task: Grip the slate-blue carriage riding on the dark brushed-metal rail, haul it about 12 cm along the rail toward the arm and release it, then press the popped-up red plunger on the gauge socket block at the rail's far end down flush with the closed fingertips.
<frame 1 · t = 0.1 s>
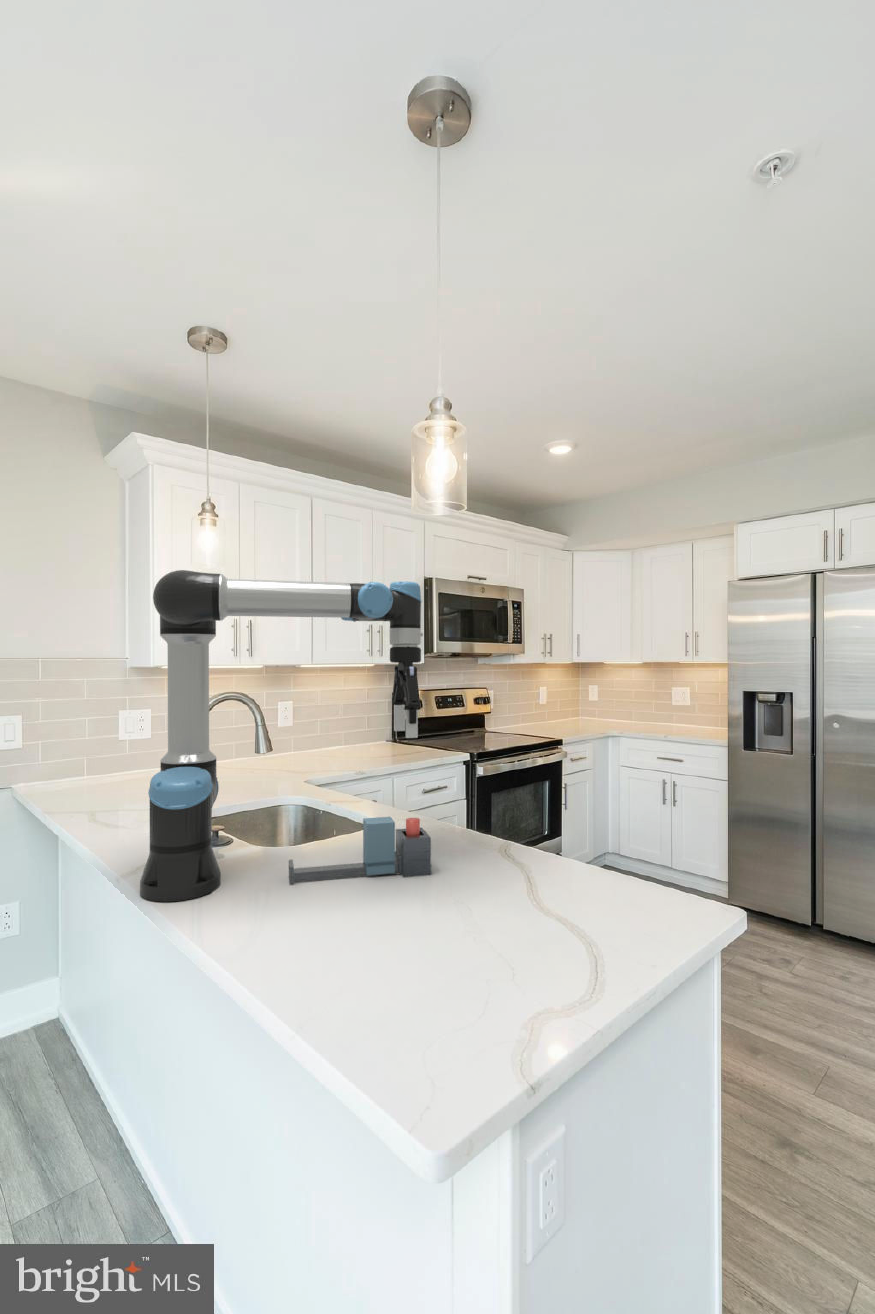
hand: (405, 734, 155), 28 cm above the counter, fingers open, 13 cm apart
rail: (346, 875, 136), on the counter
gauge socket block: (412, 869, 140), on the counter
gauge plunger: (412, 833, 140), point 8 cm above the counter, slide at 0.0 cm
carriage: (378, 845, 138), point 6 cm above the counter, slide at 0.0 cm
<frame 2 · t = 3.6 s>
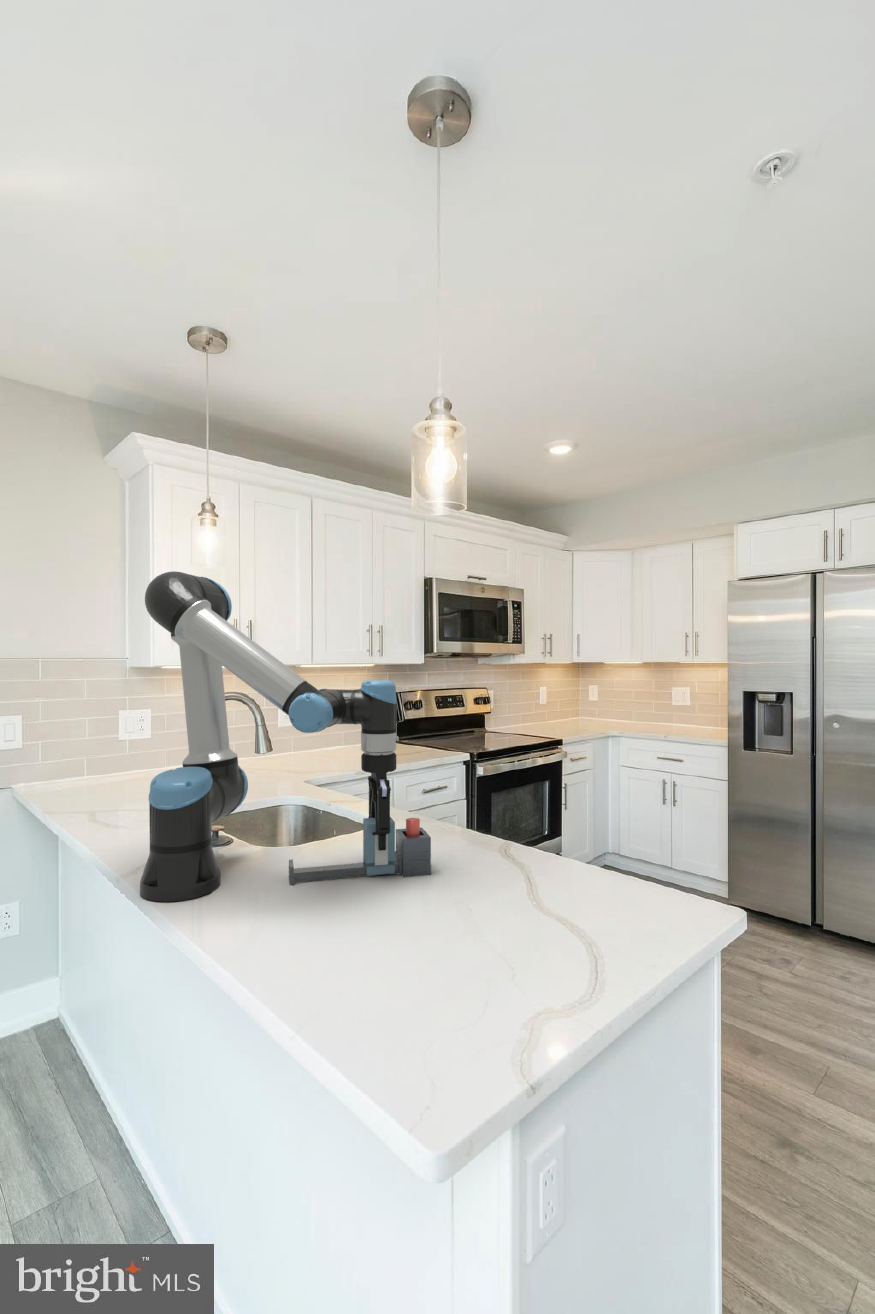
hand: (378, 860, 138), 3 cm above the counter, fingers closed on carriage, 5 cm apart
carriage: (378, 845, 138), point 6 cm above the counter, slide at 0.0 cm, touching gripper
everything else where it was.
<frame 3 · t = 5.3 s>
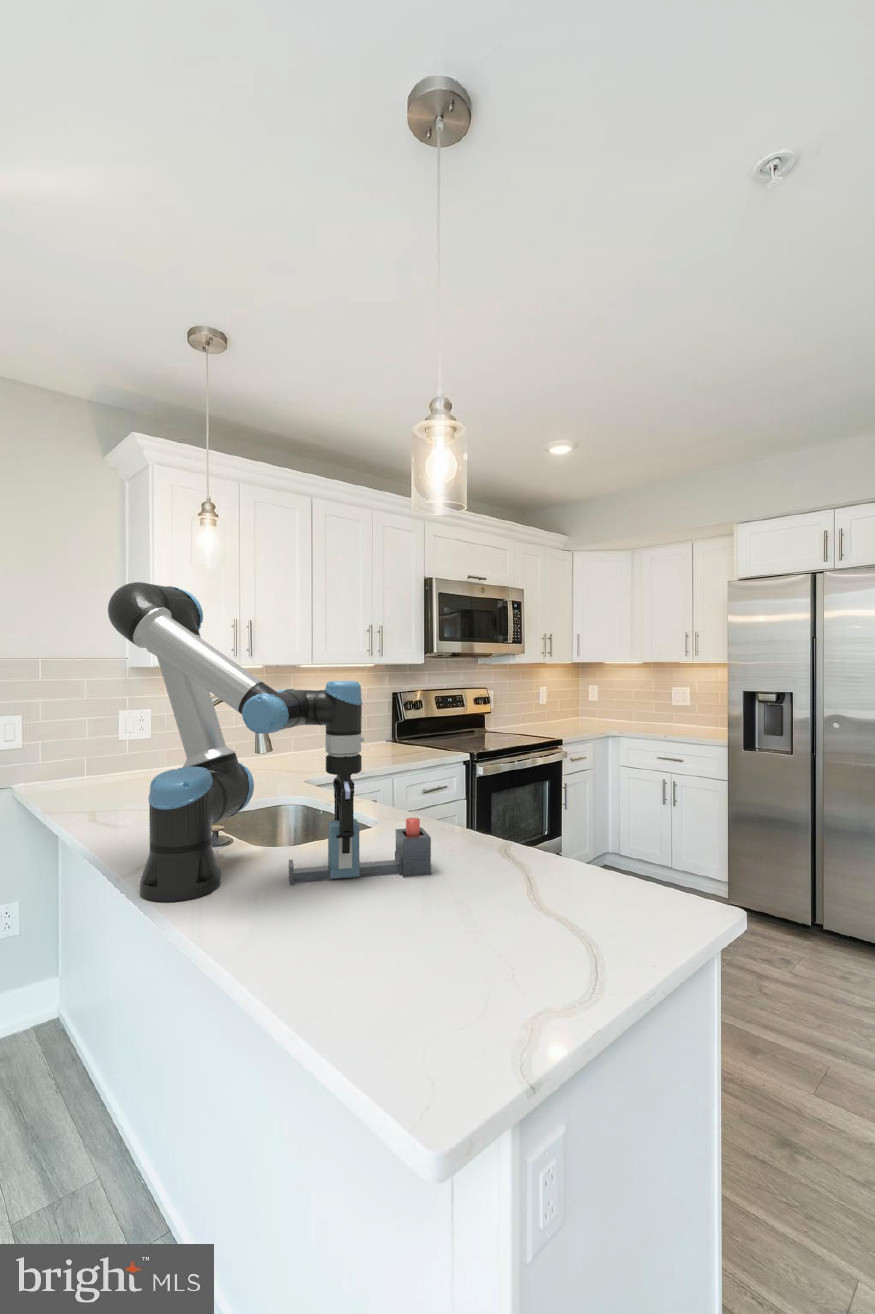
hand: (343, 863, 136), 3 cm above the counter, fingers closed on carriage, 5 cm apart
carriage: (343, 848, 136), point 6 cm above the counter, slide at 7.6 cm, touching gripper
everything else where it was.
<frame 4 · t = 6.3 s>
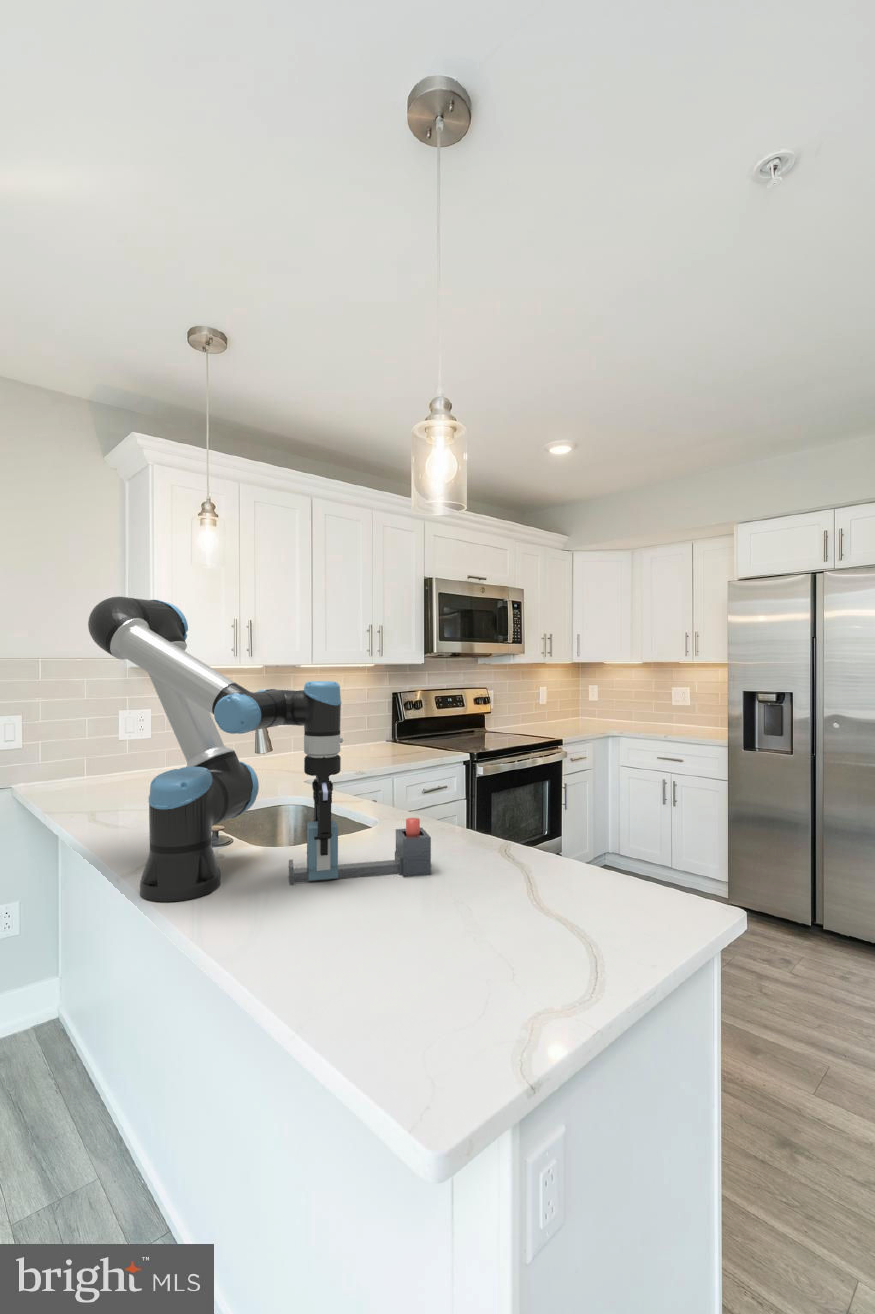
hand: (322, 865, 135), 3 cm above the counter, fingers closed on carriage, 5 cm apart
carriage: (322, 849, 135), point 6 cm above the counter, slide at 12.0 cm, touching gripper
everything else where it was.
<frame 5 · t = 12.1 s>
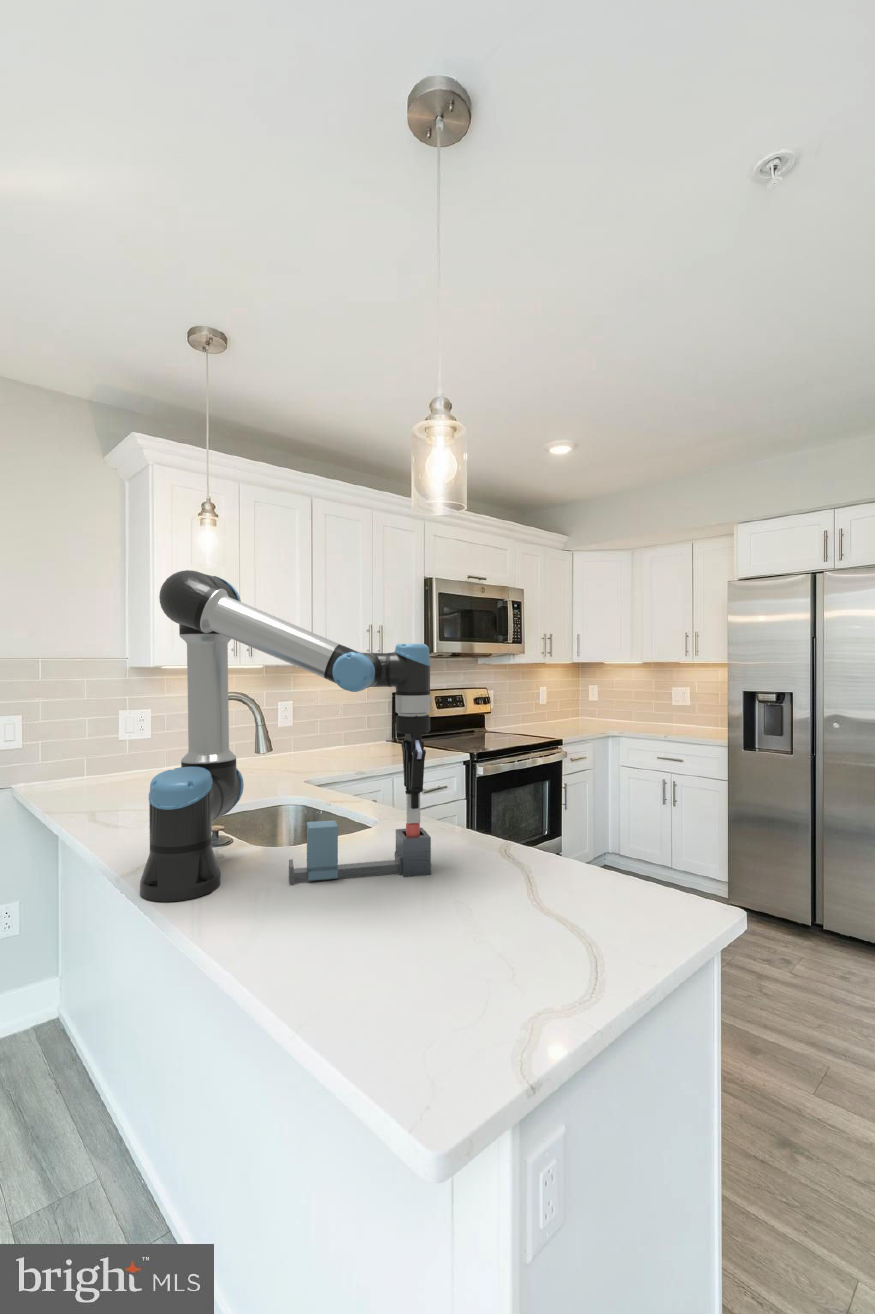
hand: (413, 822, 140), 10 cm above the counter, fingers closed
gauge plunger: (412, 837, 140), point 7 cm above the counter, slide at 0.9 cm, touching gripper
carriage: (322, 849, 135), point 6 cm above the counter, slide at 12.1 cm
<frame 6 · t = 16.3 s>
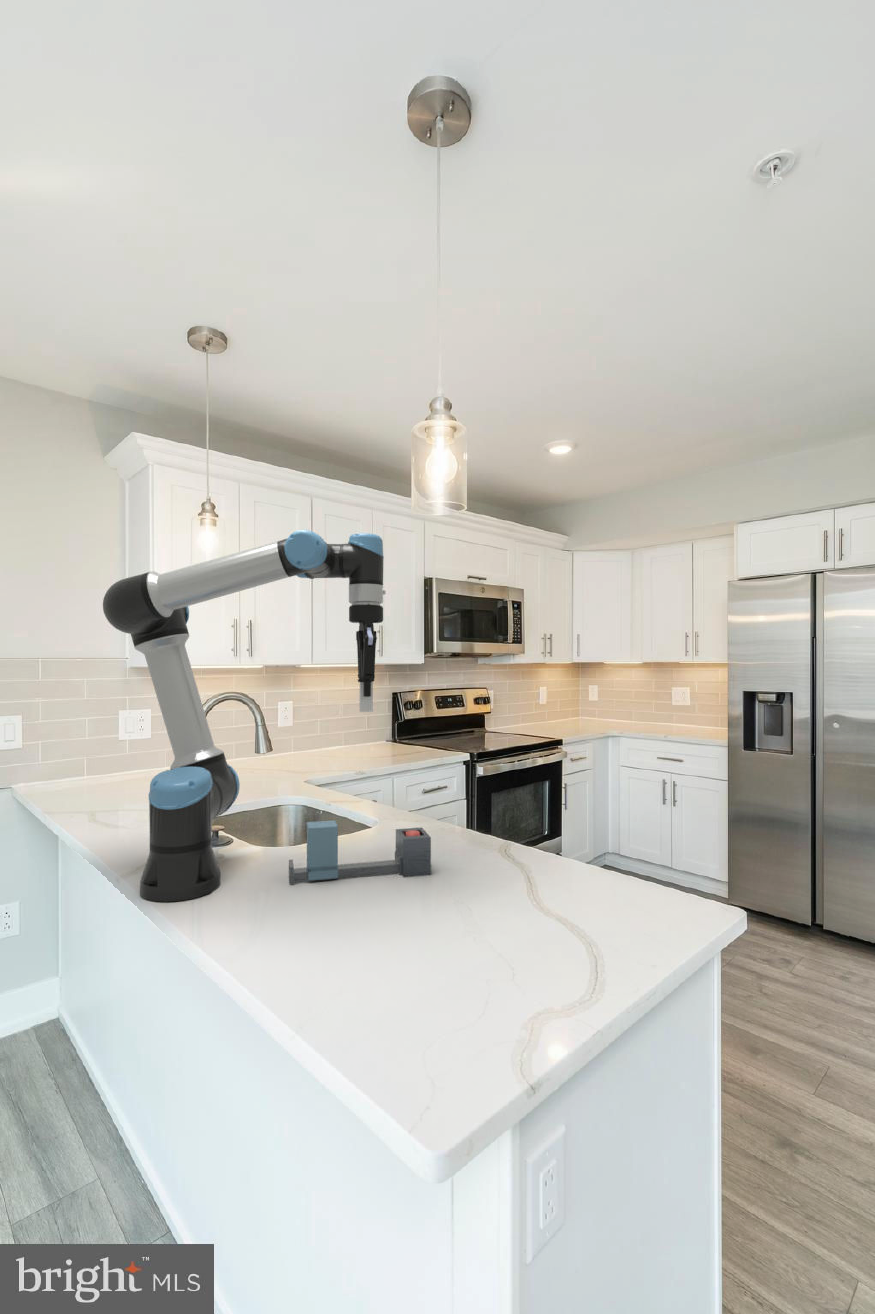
hand: (366, 711, 142), 34 cm above the counter, fingers closed
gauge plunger: (412, 845, 140), point 5 cm above the counter, slide at 2.8 cm
everything else where it was.
at the end: carriage slide at 12.1 cm; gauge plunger slide at 2.8 cm; the gripper is holding nothing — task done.
